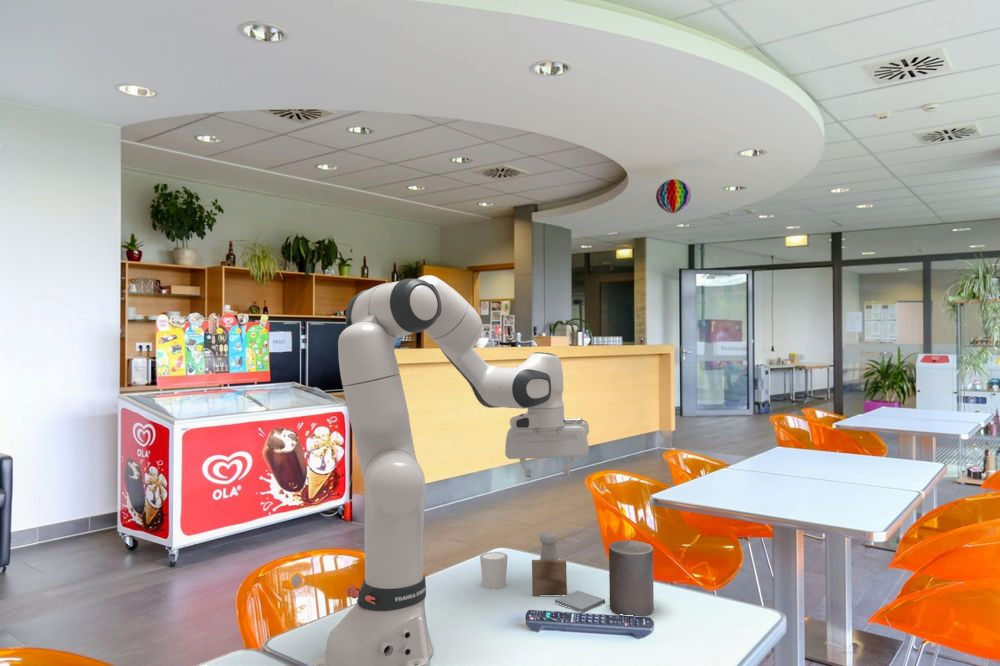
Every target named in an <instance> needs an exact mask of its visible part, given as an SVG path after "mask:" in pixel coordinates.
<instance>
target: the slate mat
mask: <svg viewBox="0 0 1000 666" xmlns="http://www.w3.org/2000/svg"><path fill="white" fill-rule="evenodd" d="M555 602H556V603H559V604H561V605H564V606H567V607H570V608H572V609H571V610H573V609H574V610H573V611H576V612H579V611H581V612H580V613H582V612H583V613H585V612H587V610H588V611H590V610H592V609H594V608H596V607H595V606H597V607H599V606H601V605H603V604H605V603H606V599H605V598H602V597H599V596H596V595H593V594H589V593H587V592H583V591H581V590H575V591H573V592H571V593H567V595H565V596H559V597H557V598H556V599H554V603H555ZM556 603H555V604H556ZM602 603H603V604H602ZM600 604H601V605H600ZM561 605H560V606H561ZM598 605H599V606H598ZM564 606H563V607H564ZM567 607H566V608H567ZM593 607H594V608H593ZM570 608H569V609H570ZM591 608H592V609H591ZM589 609H590V610H589Z"/></svg>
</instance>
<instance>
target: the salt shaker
mask: <svg viewBox="0 0 1000 666" xmlns="http://www.w3.org/2000/svg"><path fill="white" fill-rule="evenodd" d="M539 542H540V543H541V550H540V558H539V560H559V557H558V553H557V547H556V544H557V543H558V535H557V533H556V532H554V531H542V532H541V533H540V534H539Z"/></svg>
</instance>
